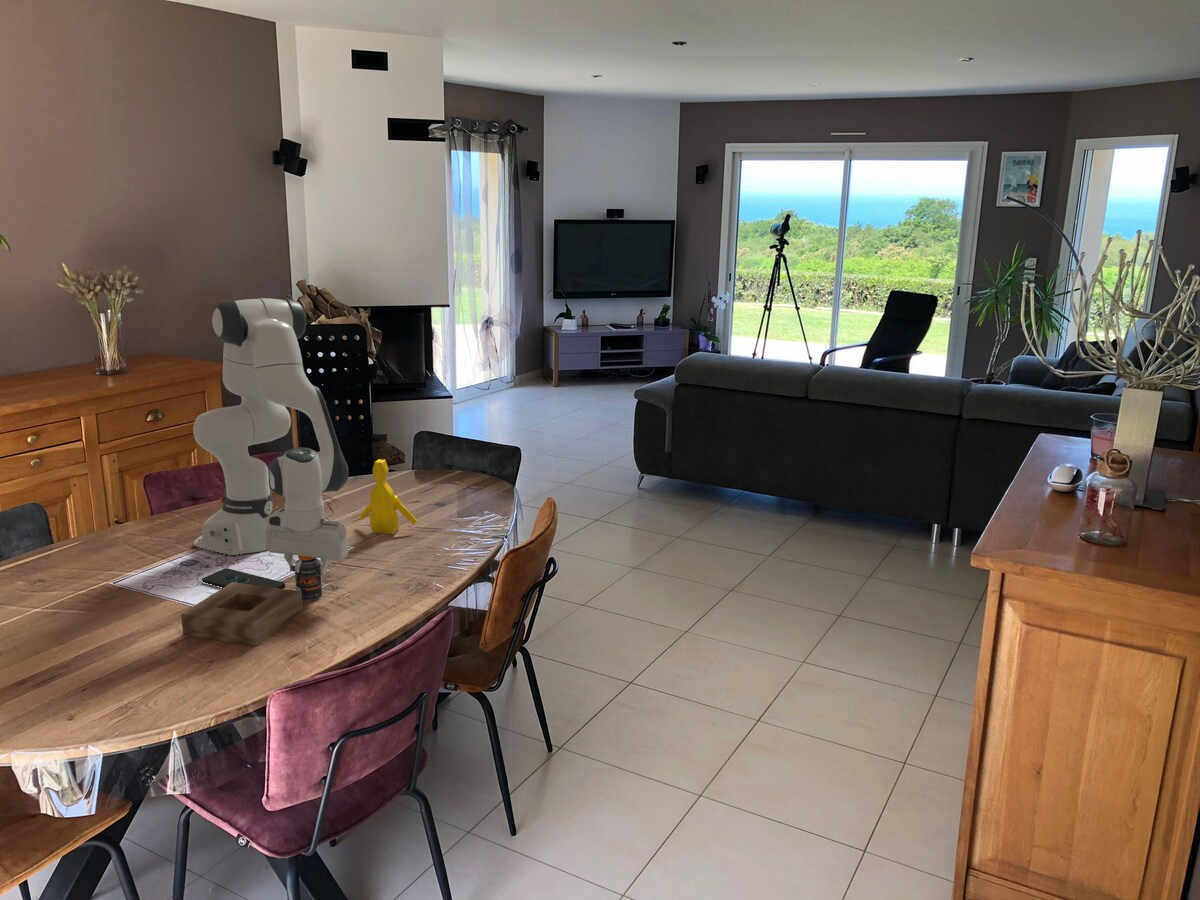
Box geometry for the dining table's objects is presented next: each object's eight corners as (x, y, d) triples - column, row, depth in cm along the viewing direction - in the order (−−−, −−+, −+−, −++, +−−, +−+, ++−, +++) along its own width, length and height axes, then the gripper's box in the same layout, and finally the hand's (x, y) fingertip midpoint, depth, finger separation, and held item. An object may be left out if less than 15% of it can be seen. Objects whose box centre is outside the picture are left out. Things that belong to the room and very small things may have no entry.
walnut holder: (183, 635, 199) (180, 613, 198) (234, 601, 216) (232, 582, 215) (256, 646, 195) (254, 624, 194) (302, 611, 212) (301, 591, 211)
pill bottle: (298, 603, 216) (296, 558, 213) (294, 593, 221) (291, 549, 218) (324, 598, 219) (322, 554, 216) (319, 589, 224) (317, 546, 221)
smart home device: (226, 567, 233) (286, 582, 225) (226, 573, 233) (287, 588, 225) (200, 578, 226) (261, 594, 218) (200, 585, 226) (261, 601, 218)
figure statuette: (420, 530, 266) (418, 457, 260) (409, 539, 259) (407, 464, 253) (363, 524, 269) (360, 452, 264) (351, 533, 262) (347, 459, 256)
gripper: (351, 517, 216) (354, 572, 219) (274, 509, 220) (278, 562, 224) (338, 526, 210) (341, 582, 213) (259, 517, 214) (263, 572, 218)
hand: (308, 572), depth 219 cm, fingers closed on pill bottle, 6 cm apart
